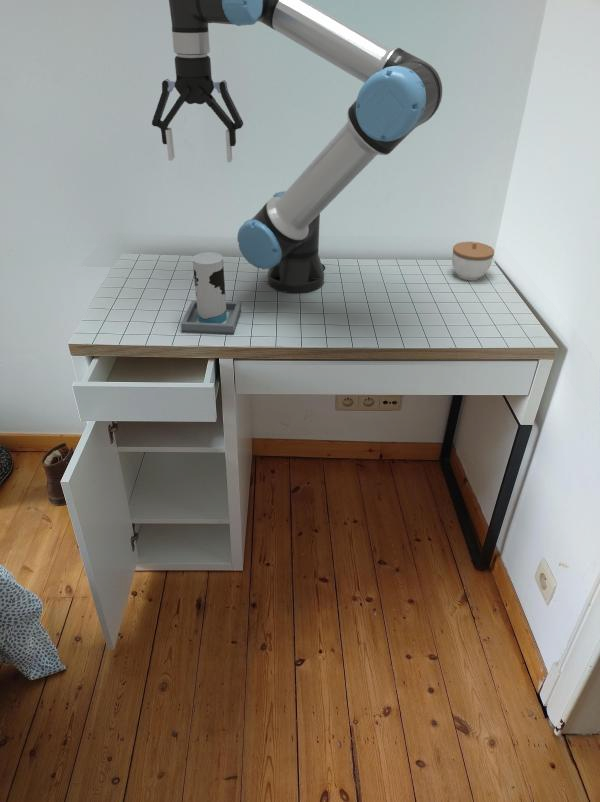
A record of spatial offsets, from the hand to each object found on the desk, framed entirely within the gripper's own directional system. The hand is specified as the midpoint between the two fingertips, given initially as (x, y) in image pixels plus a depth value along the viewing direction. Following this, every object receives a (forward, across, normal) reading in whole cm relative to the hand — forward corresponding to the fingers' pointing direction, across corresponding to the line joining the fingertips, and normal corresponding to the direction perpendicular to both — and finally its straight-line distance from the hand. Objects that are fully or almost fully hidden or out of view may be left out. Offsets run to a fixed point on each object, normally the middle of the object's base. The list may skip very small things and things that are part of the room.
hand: (200, 160), depth 140 cm
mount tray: (+32, -4, +19) cm, 37 cm away
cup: (+31, -4, +19) cm, 37 cm away
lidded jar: (+32, -69, -13) cm, 77 cm away
